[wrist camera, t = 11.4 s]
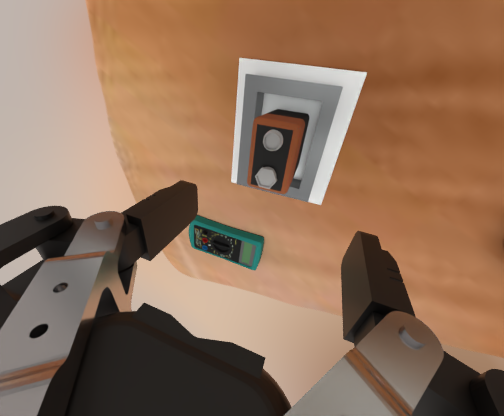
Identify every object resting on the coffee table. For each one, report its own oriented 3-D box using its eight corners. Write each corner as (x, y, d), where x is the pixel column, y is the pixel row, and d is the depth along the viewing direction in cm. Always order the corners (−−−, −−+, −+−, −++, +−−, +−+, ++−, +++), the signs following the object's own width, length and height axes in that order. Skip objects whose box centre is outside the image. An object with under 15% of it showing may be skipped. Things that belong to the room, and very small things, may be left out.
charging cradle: (243, 58, 25) (229, 54, 21) (365, 73, 22) (372, 70, 18) (234, 179, 33) (223, 189, 30) (321, 201, 30) (320, 215, 27)
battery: (267, 161, 29) (242, 190, 21) (275, 108, 25) (248, 117, 17) (298, 167, 28) (284, 200, 20) (311, 113, 24) (301, 126, 16)
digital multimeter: (194, 212, 40) (186, 220, 38) (266, 235, 37) (261, 245, 35) (195, 239, 44) (187, 248, 42) (259, 263, 41) (255, 273, 39)
